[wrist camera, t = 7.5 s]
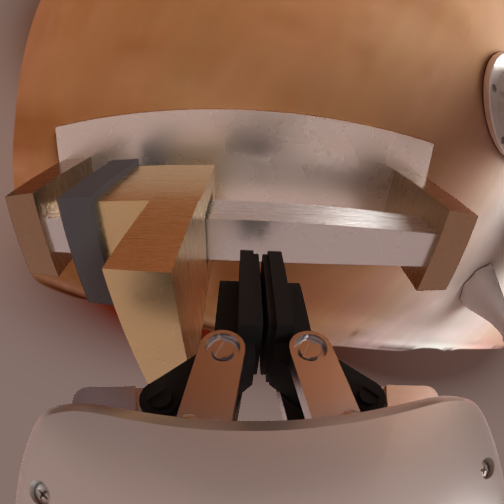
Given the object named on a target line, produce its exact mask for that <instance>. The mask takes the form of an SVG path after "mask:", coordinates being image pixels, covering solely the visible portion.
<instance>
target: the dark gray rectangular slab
mask: <svg viewBox="0 0 504 504" xmlns="http://www.w3.org/2000/svg"><path fill="white" fill-rule="evenodd" d="M136 166H139V159H124V160H112V161H110V162H108V163H107V164H105V165H104V166H102V167H101V168H99V169H98V170H96V171H95V172H93V173H92V174H90V175H89V176H87V177H86V178H84V179H83V180H81V181H80V182H79V183H77V184H76V185H74V186H73V187H72V188H70V189H69V190H68V191H66V192H65V193H64V194H62V195H61V196H60V197H58V198H57V203H58V208H59V212H60V216H61V220H62V224H63V227H64V231H65V235H66V238H67V242H68V245H69V248H70V251H71V255H72V258H73V261H74V264H75V267H76V270H77V272H78V275H79V278H80V281H81V283H82V286H83V289H84V291H85V294H86V296H87V299H88V301H89V302H92V303H100V304H108V305H114V304H113V301H112V298H111V295H110V292H109V289H108V286H107V283H106V280H105V277H104V274H103V271H102V267H103V266H104V264H105V263H106V261H107V260H108V259H107V256H106V252H105V248H104V244H103V240H102V235H101V231H100V226H99V222H98V217H97V212H96V207H95V201H96V200H97V199H98V198H99V197H100V196H101V195H103V194H104V193H105V192H106V191H107V190H108V189H109V188H111V187H112V186H113V185H114V184H115V183H117V182H118V181H119V180H120V179H121V178H123V177H124V176H125V175H126V174H128V173H129V172H130V171H131V170H133V169H134V168H135V167H136Z"/></svg>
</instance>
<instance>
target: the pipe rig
mask: <svg viewBox="0 0 504 504" xmlns="http://www.w3.org/2000/svg"><path fill="white" fill-rule="evenodd" d="M56 138H57V148H58V156H59V163H58V164H56V165H54V166H52V167H51V168H49V169H47V170H45V171H44V172H42V173H40V174H39V175H37V176H35V177H34V178H32V179H31V180H29V181H28V182H26V183H24V184H23V185H21V186H20V187H18V188H17V189H15V190H14V191H13V192H11V193H10V194H8V195H7V196H5V198H6V202H7V206H8V210H9V213H10V217H11V220H12V223H13V227H14V230H15V233H16V236H17V239H18V242H19V245H20V248H21V250H22V253H23V256H24V258H25V261H26V263H27V266H28V268H29V271H30V273H32V274H40V275H48V276H56V277H59V275H60V274H61V273H62V271H63V270H64V269H65V267H66V266H67V265H68V263H69V262H70V261H71V260H72V255H71V251H70V248H69V245H68V242H67V238H66V235H65V231H64V227H63V224H62V220H61V216H60V212H59V208H58V203H57V198H58V197H60V196H61V195H62V194H64V193H65V192H66V191H68V190H69V189H70V188H72V187H73V186H74V185H76V184H77V183H79V182H80V181H81V180H83V179H84V178H86V177H87V176H89V175H90V174H92V173H93V172H95V171H96V170H98V169H99V168H101V167H102V166H104V165H105V164H107V163H108V162H110V161H112V160H124V159H139V166H154V165H215V200H210V201H209V204H208V207H207V210H206V213H205V234H206V259H207V260H231V261H240V250H253V251H254V254H259V262H262V254H267V252H268V251H281V252H282V257H283V262H284V263H313V264H345V265H382V266H401V268H402V269H403V271H404V272H405V274H406V275H407V277H408V278H409V280H410V281H411V283H412V284H413V286H414V287H415V289H416V290H417V291H423V290H446V288H447V286H448V284H449V282H450V280H451V278H452V276H453V274H454V272H455V270H456V268H457V266H458V264H459V262H460V260H461V257H462V255H463V253H464V251H465V248H466V246H467V244H468V241H469V239H470V236H471V234H472V231H473V229H474V226H475V223H476V221H477V218H478V216H477V215H476V214H475V213H474V212H472V211H471V210H470V209H469V208H467V207H466V206H465V205H463V204H462V203H461V202H459V201H458V200H457V199H455V198H454V197H453V196H451V195H450V194H449V193H447V192H446V191H444V190H443V189H441V188H440V187H439V186H437V185H436V184H434V183H433V182H431V181H430V180H428V179H427V178H426V177H427V173H428V169H429V165H430V160H431V156H432V151H433V146H434V144H433V143H430V142H428V141H425V140H422V139H419V138H415V137H412V136H408V135H405V134H401V133H397V132H394V131H390V130H386V129H382V128H377V127H373V126H369V125H364V124H359V123H354V122H349V121H344V120H338V119H332V118H326V117H319V116H312V115H305V114H297V113H287V112H277V111H264V110H247V109H178V110H161V111H149V112H139V113H130V114H122V115H114V116H108V117H101V118H95V119H90V120H85V121H79V122H75V123H70V124H65V125H61V126H58V127H56Z"/></svg>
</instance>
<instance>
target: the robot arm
mask: <svg viewBox="0 0 504 504" xmlns="http://www.w3.org/2000/svg"><path fill="white" fill-rule="evenodd" d="M483 99H484V109H485V115H486V120H487V124H488V128H489V131H490V134H491V136H492V139H493V141H494V143H495V145H496V147H497V149H498V150H499V151H500V152H501V154H502V155H504V52H498V53H496V54H494V55H493V56H492V57H491V59H490V60H489V62H488V65H487V67H486V71H485V76H484V85H483ZM259 354H260V371H261V374H262V375H263V374H266V382H269V384H270V385H271V386H272V387H273V388H275V389H276V390H277V397H278V401H279V405H280V409H281V413H282V417H283V420H284V421H237V420H238V414H239V409H240V403H241V398H242V392H244V391H245V390H246V389H247V388H248V387H250V386H251V385H252V381H253V374H257V368H258V361H259ZM16 504H504V480H503V475H502V470H501V465H500V461H499V457H498V453H497V449H496V446H495V443H494V440H493V437H492V434H491V431H490V429H489V426H488V424H487V421H486V419H485V417H484V415H483V413H482V412H481V410H480V409H479V407H478V406H477V405H476V404H475V403H474V402H472V401H471V400H468V399H465V398H461V397H454V396H438V394H437V392H436V391H435V390H434V389H433V388H431V387H429V386H403V385H386V386H385V387H381V386H379V385H378V384H377V383H376V382H374V381H372V380H371V379H369V378H367V377H366V376H364V375H363V374H361V373H359V372H358V371H356V370H354V369H353V368H351V367H350V366H348V365H346V364H345V363H343V362H342V361H340V360H339V359H337V357H336V354H335V352H334V350H333V348H332V345H331V343H330V342H329V340H328V339H327V338H326V337H325V336H323V335H322V334H320V333H318V332H314V331H311V329H310V324H309V320H308V316H307V311H306V307H305V303H304V298H303V294H302V290H301V286H300V284H299V283H287V277H286V272H285V267H284V262H283V257H282V252H281V251H268V252H267V254H262V263H261V273H260V266H259V254H254V251H253V250H240V267H239V281H220V286H219V295H218V304H217V313H216V323H215V331H213V332H211V333H209V334H207V335H206V336H205V337H204V338H203V339H202V341H201V343H200V345H199V348H198V351H197V354H196V355H194V356H193V357H191V358H189V359H188V360H186V361H185V362H183V363H182V364H180V365H179V366H177V367H175V368H174V369H172V370H171V371H169V372H168V373H166V374H164V375H163V376H161V377H159V378H158V379H156V380H155V381H153V382H151V383H150V384H148V385H147V386H146V387H145V388H138V389H137V388H136V387H135V386H127V387H126V386H125V387H84V388H82V389H80V390H78V391H77V392H76V394H75V395H74V398H73V402H72V404H65V405H59V406H56V407H52V408H50V409H48V410H46V411H45V412H44V413H43V414H42V415H41V416H40V417H39V419H38V420H37V422H36V424H35V425H34V428H33V430H32V432H31V434H30V437H29V440H28V443H27V446H26V449H25V453H24V456H23V460H22V464H21V469H20V474H19V481H18V487H17V495H16Z"/></svg>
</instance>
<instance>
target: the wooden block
mask: <svg viewBox="0 0 504 504" xmlns="http://www.w3.org/2000/svg"><path fill="white" fill-rule="evenodd" d="M210 200H215V165H154V166H136V167H135V168H134V169H133V170H131V171H130V172H129V173H128V174H126V175H125V176H124V177H123V178H121V179H120V180H119V181H118V182H117V183H115V184H114V185H113V186H112V187H111V188H109V189H108V190H107V191H106V192H105V193H104V194H103V195H101V196H100V197H99V198H98V199H97V200H96V201H95V207H96V212H97V217H98V222H99V226H100V231H101V235H102V240H103V244H104V248H105V252H106V256H107V259H108V260H107V261H106V263H105V264H104V266H103V267H102V271H103V274H104V277H105V280H106V283H107V286H108V289H109V292H110V295H111V298H112V301H113V304H114V307H115V309H116V312H117V315H118V317H119V320H120V323H121V325H122V328H123V330H124V333H125V335H126V338H127V340H128V342H129V345H130V347H131V349H132V352H133V354H134V356H135V358H136V360H137V363H138V365H139V367H140V369H141V371H142V373H143V375H144V377H145V379H146V381H147V383H149V384H150V383H151V382H153V381H155V380H156V379H158V378H159V377H161V376H163V375H164V374H166V373H168V372H169V371H171V370H172V369H174V368H175V367H177V366H179V365H180V364H182V363H183V362H185V361H186V360H188V359H189V358H191V357H193V356H194V355H196V354H197V351H198V348H199V345H200V339H201V332H202V326H203V319H204V312H205V306H206V304H205V302H206V296H207V290H208V283H209V278H210V272H211V266H212V260H207V259H206V234H205V213H206V210H207V207H208V204H209V201H210Z"/></svg>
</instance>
